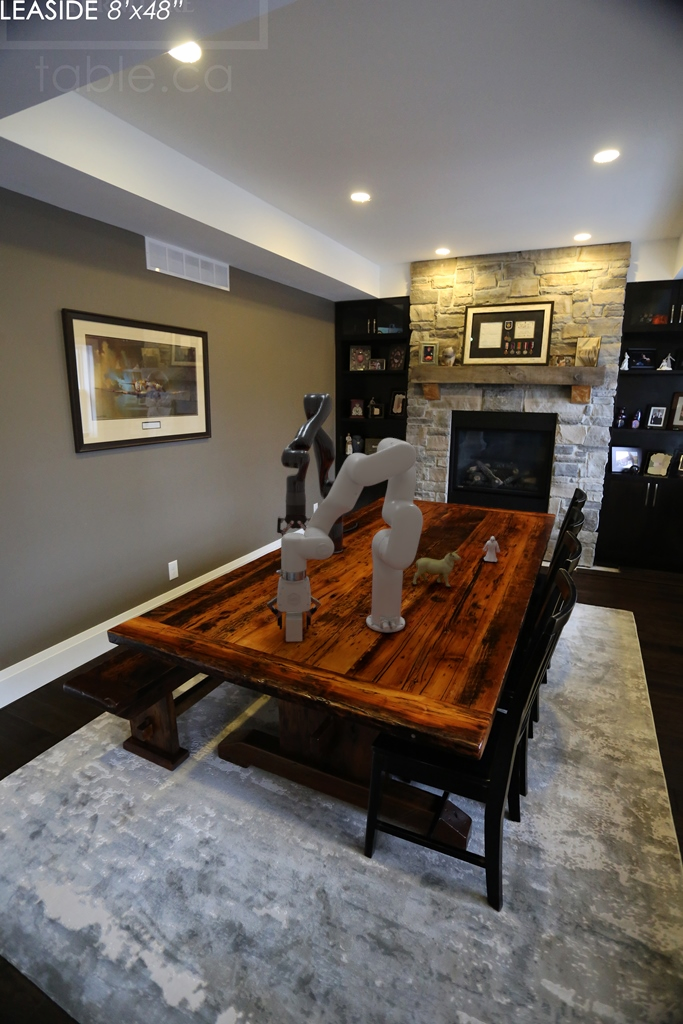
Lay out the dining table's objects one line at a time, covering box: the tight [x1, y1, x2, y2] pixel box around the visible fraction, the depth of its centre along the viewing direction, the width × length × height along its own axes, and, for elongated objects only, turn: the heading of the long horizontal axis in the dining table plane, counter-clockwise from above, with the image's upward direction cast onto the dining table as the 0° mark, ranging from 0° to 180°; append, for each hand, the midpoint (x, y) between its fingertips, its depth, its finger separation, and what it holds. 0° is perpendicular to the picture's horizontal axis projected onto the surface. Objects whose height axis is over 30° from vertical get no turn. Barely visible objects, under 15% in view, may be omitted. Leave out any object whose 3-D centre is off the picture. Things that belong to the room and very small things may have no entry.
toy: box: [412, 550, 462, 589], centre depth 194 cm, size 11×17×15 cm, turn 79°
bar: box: [285, 612, 303, 643], centre depth 175 cm, size 52×5×7 cm, turn 4°
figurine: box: [482, 535, 501, 563], centre depth 223 cm, size 8×8×12 cm
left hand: (295, 543), depth 193 cm, fingers open, 8 cm apart
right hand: (294, 627), depth 154 cm, fingers open, 7 cm apart
